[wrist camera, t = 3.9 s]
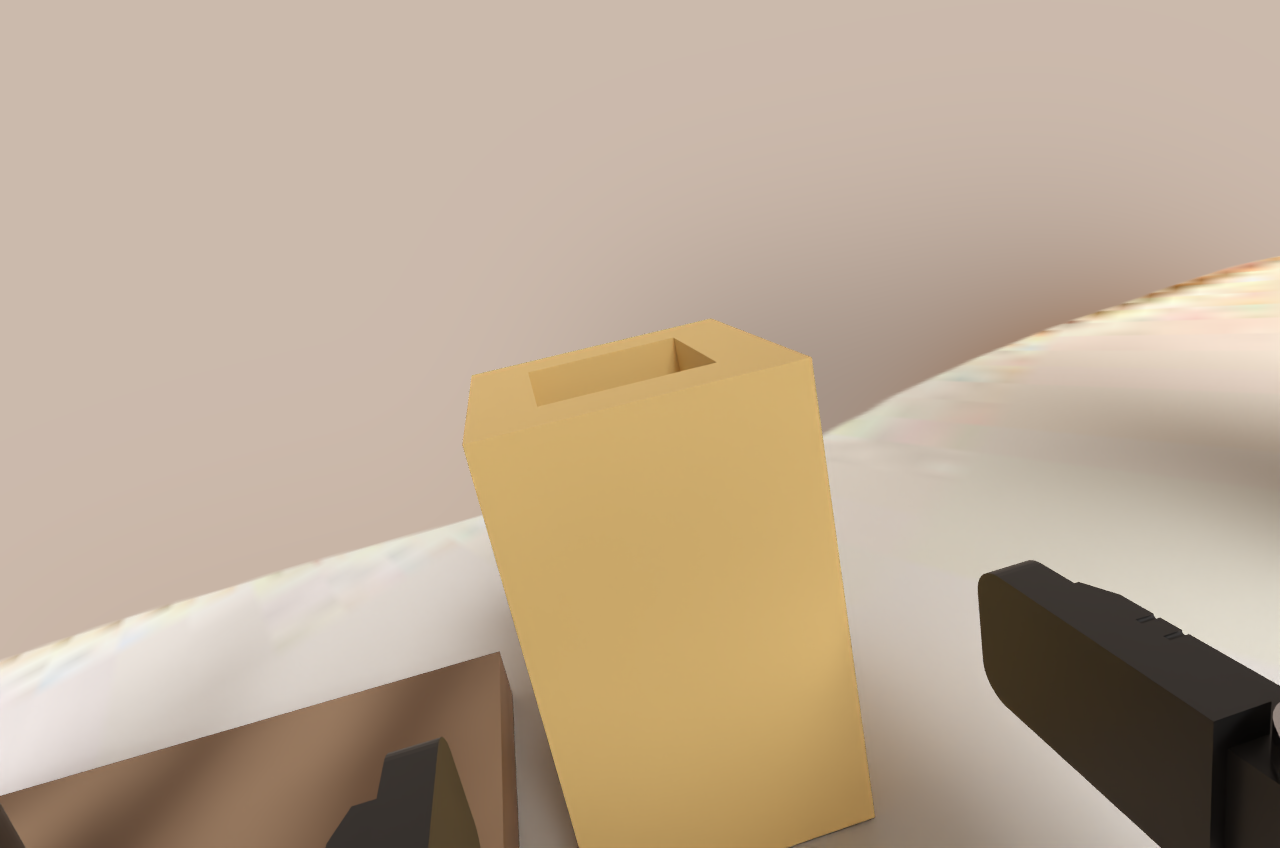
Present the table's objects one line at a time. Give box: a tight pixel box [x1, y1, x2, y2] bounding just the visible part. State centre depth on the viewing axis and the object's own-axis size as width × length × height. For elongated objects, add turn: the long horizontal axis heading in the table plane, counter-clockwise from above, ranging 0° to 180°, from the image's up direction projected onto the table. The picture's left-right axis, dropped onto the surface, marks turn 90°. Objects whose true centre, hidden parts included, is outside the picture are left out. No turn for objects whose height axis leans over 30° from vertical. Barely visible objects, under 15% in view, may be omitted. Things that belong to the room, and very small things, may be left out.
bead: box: [463, 319, 875, 848], centre depth 16 cm, size 6×6×10 cm
